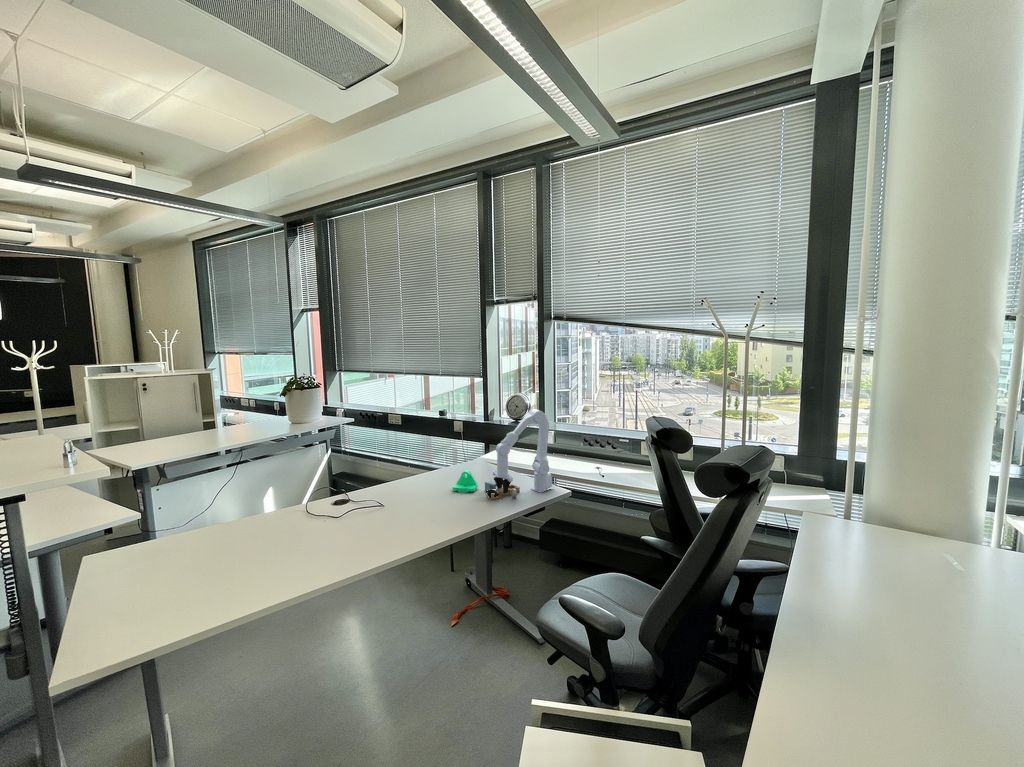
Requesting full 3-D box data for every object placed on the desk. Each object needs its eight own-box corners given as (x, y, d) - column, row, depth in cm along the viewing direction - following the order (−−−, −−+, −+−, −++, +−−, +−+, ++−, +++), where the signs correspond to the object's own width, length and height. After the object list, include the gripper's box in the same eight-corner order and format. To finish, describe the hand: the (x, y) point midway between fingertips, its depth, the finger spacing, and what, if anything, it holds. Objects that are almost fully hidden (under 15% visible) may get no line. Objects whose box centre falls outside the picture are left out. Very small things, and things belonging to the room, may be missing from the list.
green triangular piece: (452, 492, 240) (451, 473, 239) (457, 487, 248) (456, 469, 247) (473, 493, 238) (473, 474, 237) (477, 488, 245) (477, 470, 244)
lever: (512, 489, 243) (512, 484, 242) (519, 492, 238) (519, 487, 237) (486, 496, 232) (486, 491, 232) (493, 500, 227) (493, 494, 227)
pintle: (514, 496, 231) (514, 488, 231) (517, 498, 230) (517, 489, 229) (511, 497, 230) (510, 489, 229) (513, 499, 228) (513, 490, 228)
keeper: (484, 491, 240) (484, 481, 240) (491, 488, 244) (491, 479, 243) (494, 494, 235) (494, 484, 235) (501, 491, 239) (501, 482, 239)
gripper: (488, 464, 236) (488, 489, 237) (505, 470, 225) (504, 496, 226) (498, 462, 241) (498, 486, 242) (515, 468, 229) (515, 494, 231)
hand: (502, 491), depth 234 cm, fingers closed on lever, 4 cm apart
